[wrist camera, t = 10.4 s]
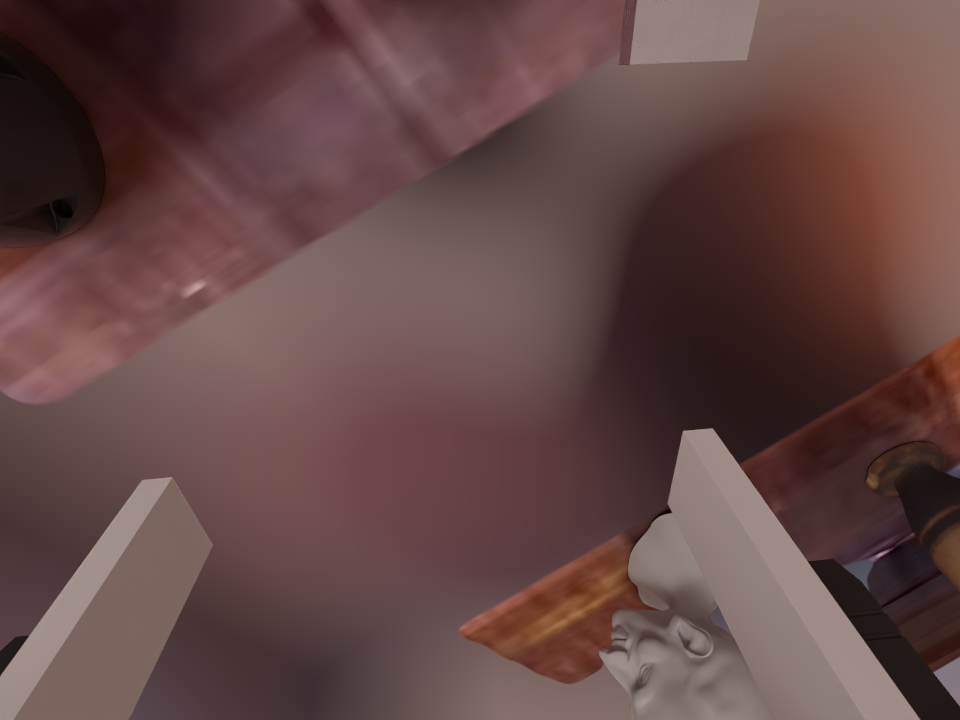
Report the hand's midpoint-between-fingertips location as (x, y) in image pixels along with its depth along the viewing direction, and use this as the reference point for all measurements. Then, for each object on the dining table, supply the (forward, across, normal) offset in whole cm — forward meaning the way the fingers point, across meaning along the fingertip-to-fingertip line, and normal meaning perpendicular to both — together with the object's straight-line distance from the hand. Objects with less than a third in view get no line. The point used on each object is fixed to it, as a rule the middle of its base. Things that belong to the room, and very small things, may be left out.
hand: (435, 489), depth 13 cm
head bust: (+30, +22, -50) cm, 63 cm away
